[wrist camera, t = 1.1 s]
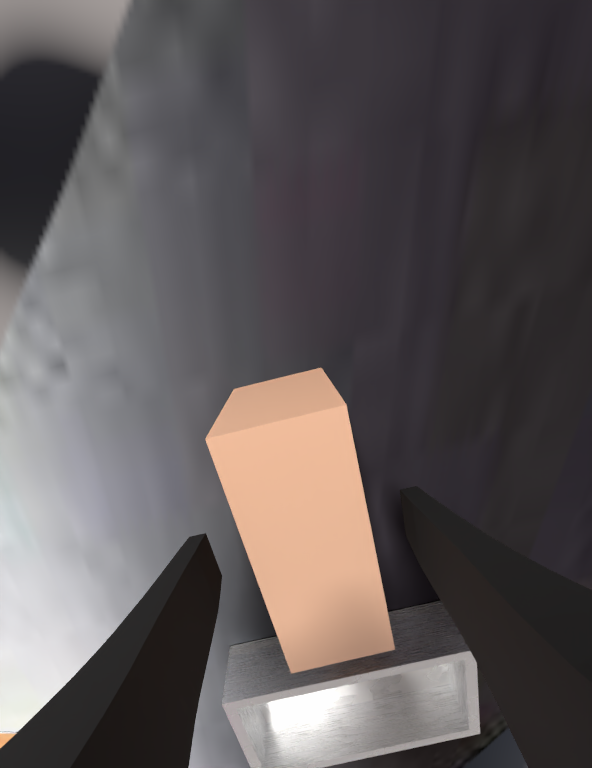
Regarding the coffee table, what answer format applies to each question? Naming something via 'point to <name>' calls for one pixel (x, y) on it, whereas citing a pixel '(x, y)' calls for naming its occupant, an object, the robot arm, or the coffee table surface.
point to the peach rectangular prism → (303, 517)
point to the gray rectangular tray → (355, 696)
